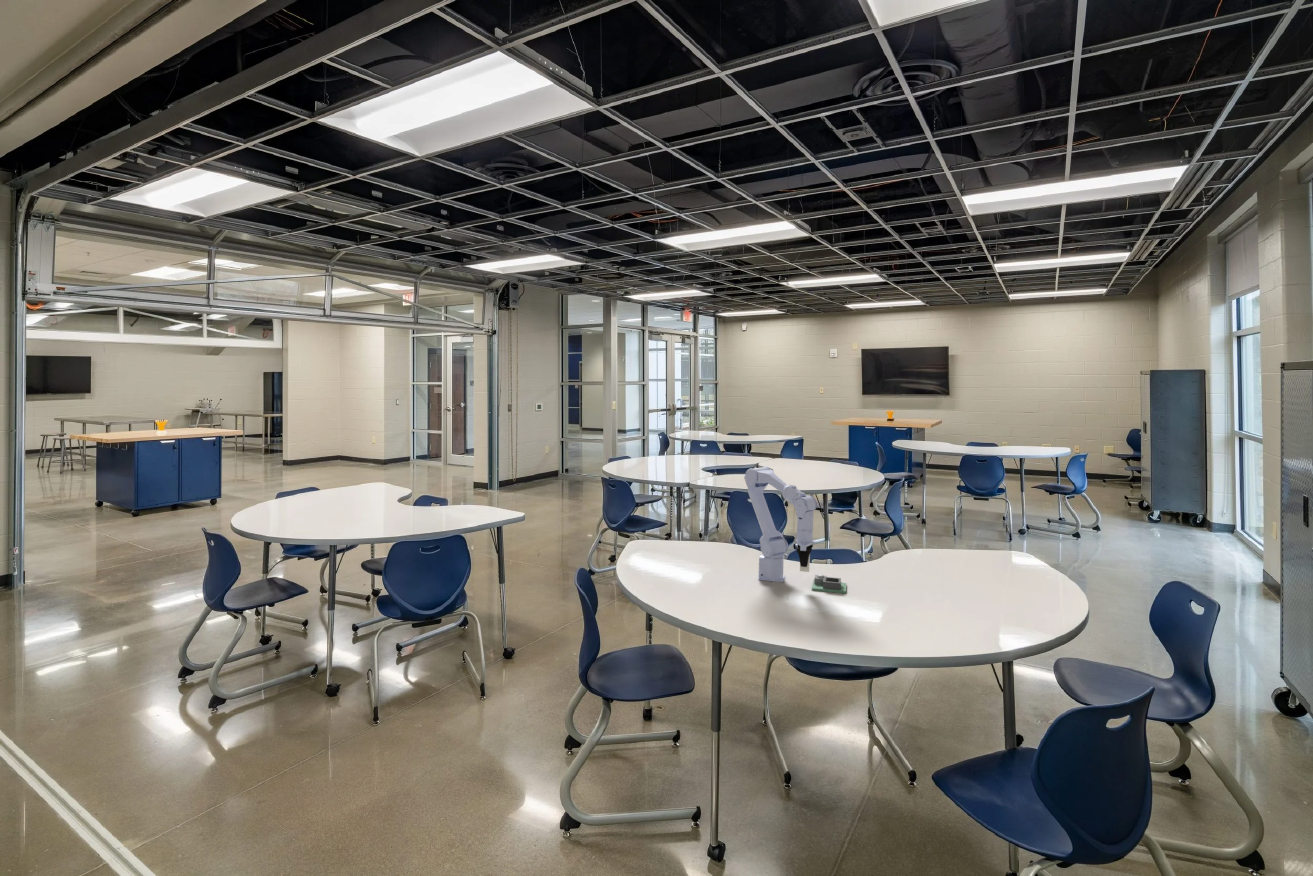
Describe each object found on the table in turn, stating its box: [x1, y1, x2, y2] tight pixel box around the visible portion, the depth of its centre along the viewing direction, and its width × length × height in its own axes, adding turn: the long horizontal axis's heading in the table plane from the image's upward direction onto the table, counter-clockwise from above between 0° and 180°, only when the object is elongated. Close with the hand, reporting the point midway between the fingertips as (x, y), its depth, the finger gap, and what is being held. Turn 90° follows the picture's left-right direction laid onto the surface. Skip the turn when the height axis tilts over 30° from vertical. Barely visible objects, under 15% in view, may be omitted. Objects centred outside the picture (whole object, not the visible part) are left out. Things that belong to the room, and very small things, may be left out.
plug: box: [799, 554, 811, 573], centre depth 227 cm, size 3×3×7 cm
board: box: [811, 574, 847, 595], centre depth 229 cm, size 12×10×4 cm
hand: (804, 565), depth 227 cm, fingers closed on plug, 3 cm apart
